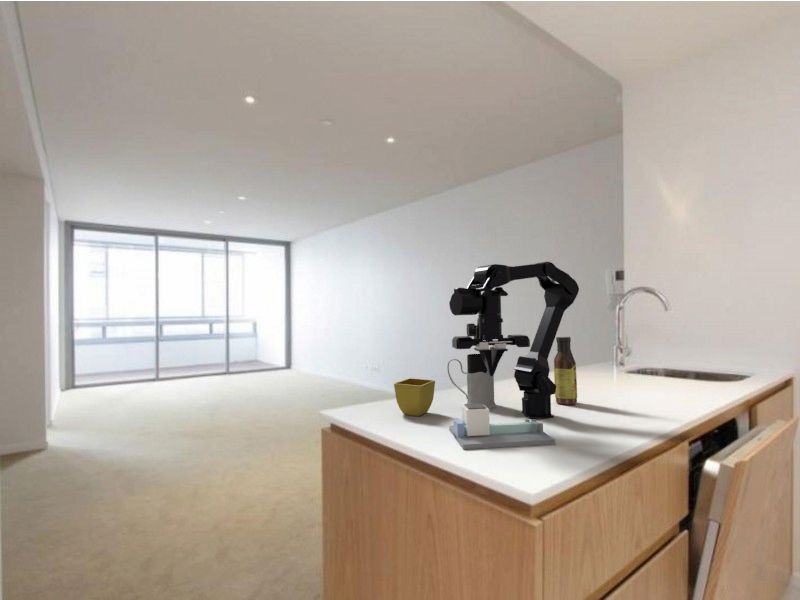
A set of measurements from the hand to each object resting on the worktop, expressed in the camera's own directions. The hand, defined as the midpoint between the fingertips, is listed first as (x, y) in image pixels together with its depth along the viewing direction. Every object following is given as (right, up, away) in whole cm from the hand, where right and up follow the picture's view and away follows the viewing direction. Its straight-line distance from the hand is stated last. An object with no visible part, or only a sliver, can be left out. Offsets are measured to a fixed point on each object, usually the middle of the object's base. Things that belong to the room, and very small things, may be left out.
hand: (491, 375), depth 109 cm
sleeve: (-6, -11, -12) cm, 17 cm away
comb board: (-1, -12, -11) cm, 16 cm away
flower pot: (-19, -13, +11) cm, 25 cm away
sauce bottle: (+27, -12, +20) cm, 35 cm away
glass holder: (-2, -13, +20) cm, 23 cm away
